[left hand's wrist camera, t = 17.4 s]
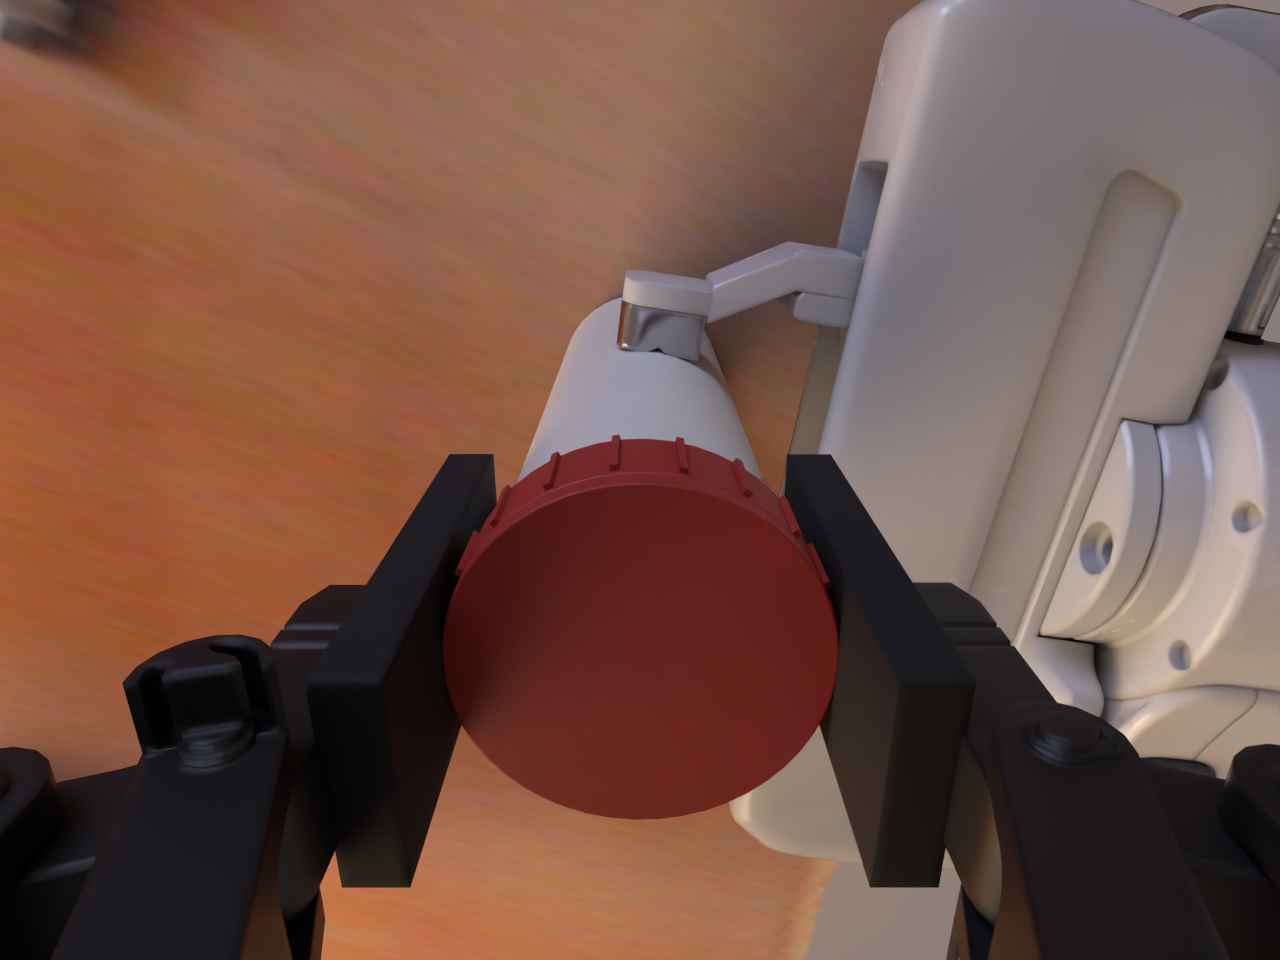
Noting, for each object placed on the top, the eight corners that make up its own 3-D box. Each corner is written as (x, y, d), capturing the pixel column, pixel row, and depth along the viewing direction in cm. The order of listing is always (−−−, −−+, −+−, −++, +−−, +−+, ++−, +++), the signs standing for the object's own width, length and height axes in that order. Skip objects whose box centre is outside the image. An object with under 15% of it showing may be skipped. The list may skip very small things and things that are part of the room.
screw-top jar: (595, 459, 26) (543, 807, 12) (543, 323, 24) (414, 544, 10) (733, 415, 25) (846, 726, 12) (689, 273, 24) (758, 435, 10)
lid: (884, 635, 12) (920, 706, 11) (604, 795, 13) (599, 880, 12) (688, 357, 11) (695, 391, 9) (388, 565, 12) (349, 628, 10)
